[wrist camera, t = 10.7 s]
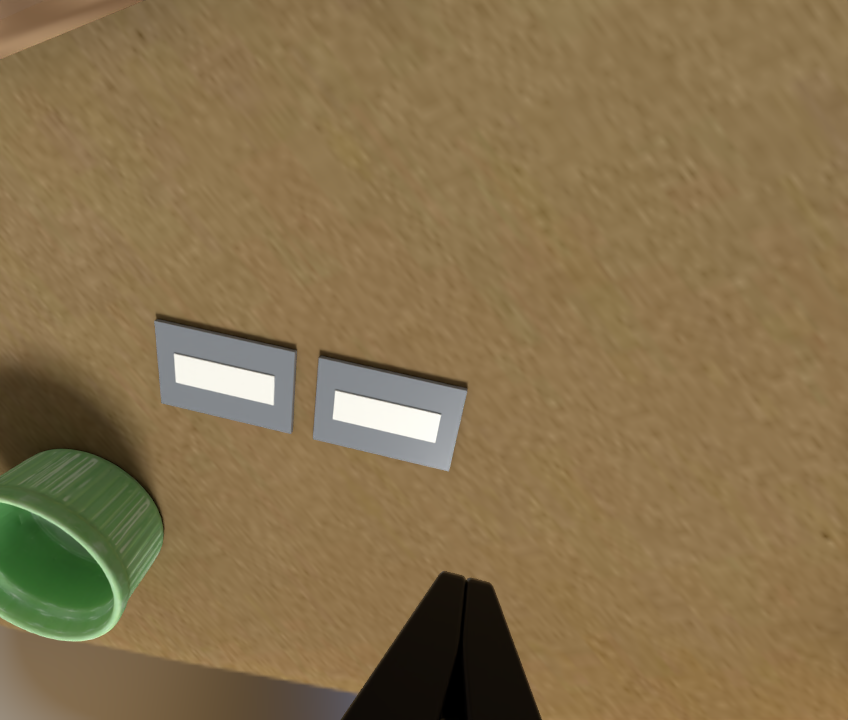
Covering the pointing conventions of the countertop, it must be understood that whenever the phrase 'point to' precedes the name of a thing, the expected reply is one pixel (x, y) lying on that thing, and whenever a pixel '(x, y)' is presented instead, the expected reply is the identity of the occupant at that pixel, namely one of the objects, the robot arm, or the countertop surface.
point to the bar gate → (48, 19)
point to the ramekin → (72, 543)
